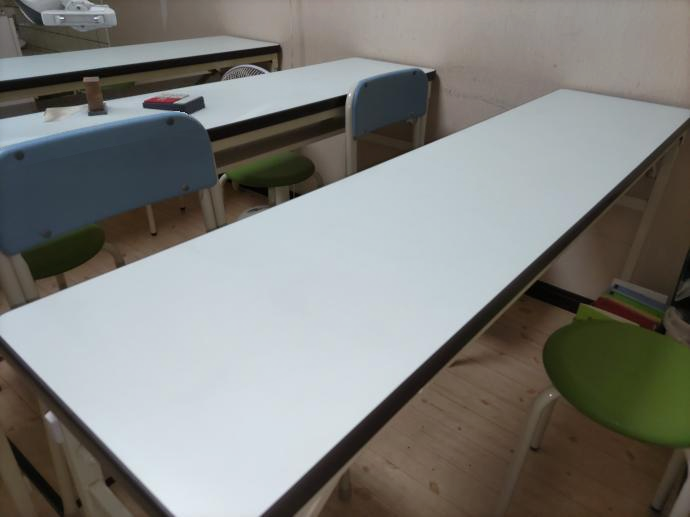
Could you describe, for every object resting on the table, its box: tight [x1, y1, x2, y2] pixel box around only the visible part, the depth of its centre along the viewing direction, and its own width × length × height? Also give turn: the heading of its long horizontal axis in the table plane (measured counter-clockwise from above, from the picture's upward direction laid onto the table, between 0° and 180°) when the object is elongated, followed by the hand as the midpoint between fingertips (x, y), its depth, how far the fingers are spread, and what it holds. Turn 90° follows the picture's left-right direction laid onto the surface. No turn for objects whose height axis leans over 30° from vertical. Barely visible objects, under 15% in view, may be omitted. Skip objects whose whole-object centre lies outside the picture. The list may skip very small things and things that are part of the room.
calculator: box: [142, 93, 206, 115], centre depth 157 cm, size 11×4×15 cm
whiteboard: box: [42, 105, 88, 124], centre depth 149 cm, size 20×16×1 cm
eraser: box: [82, 76, 108, 117], centre depth 148 cm, size 5×10×9 cm, turn 23°
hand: (79, 21), depth 148 cm, fingers open, 8 cm apart
